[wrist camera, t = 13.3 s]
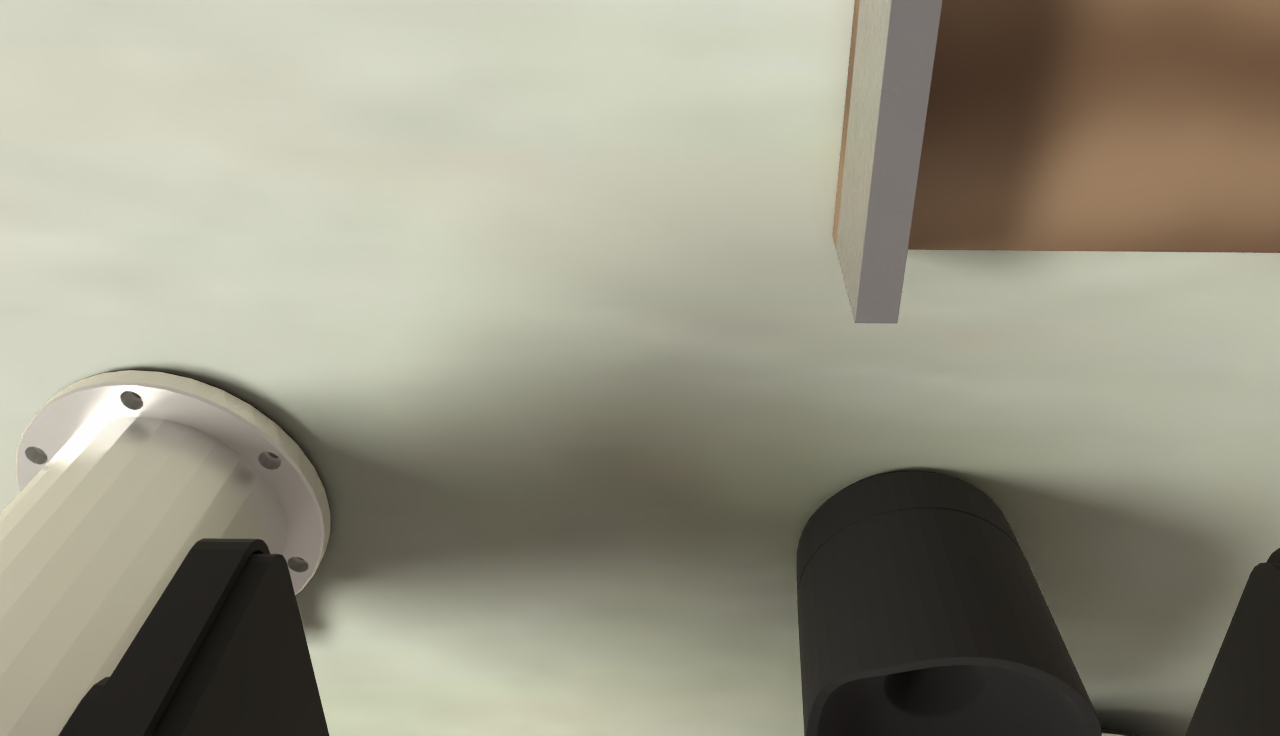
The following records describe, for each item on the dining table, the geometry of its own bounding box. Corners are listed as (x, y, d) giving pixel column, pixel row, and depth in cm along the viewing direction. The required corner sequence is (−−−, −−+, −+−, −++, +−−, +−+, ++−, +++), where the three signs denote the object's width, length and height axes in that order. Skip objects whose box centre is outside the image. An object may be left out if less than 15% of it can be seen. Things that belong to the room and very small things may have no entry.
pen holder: (751, 501, 40) (762, 703, 31) (981, 425, 37) (1062, 623, 29) (832, 650, 44) (862, 863, 35) (1044, 591, 41) (1130, 807, 33)
